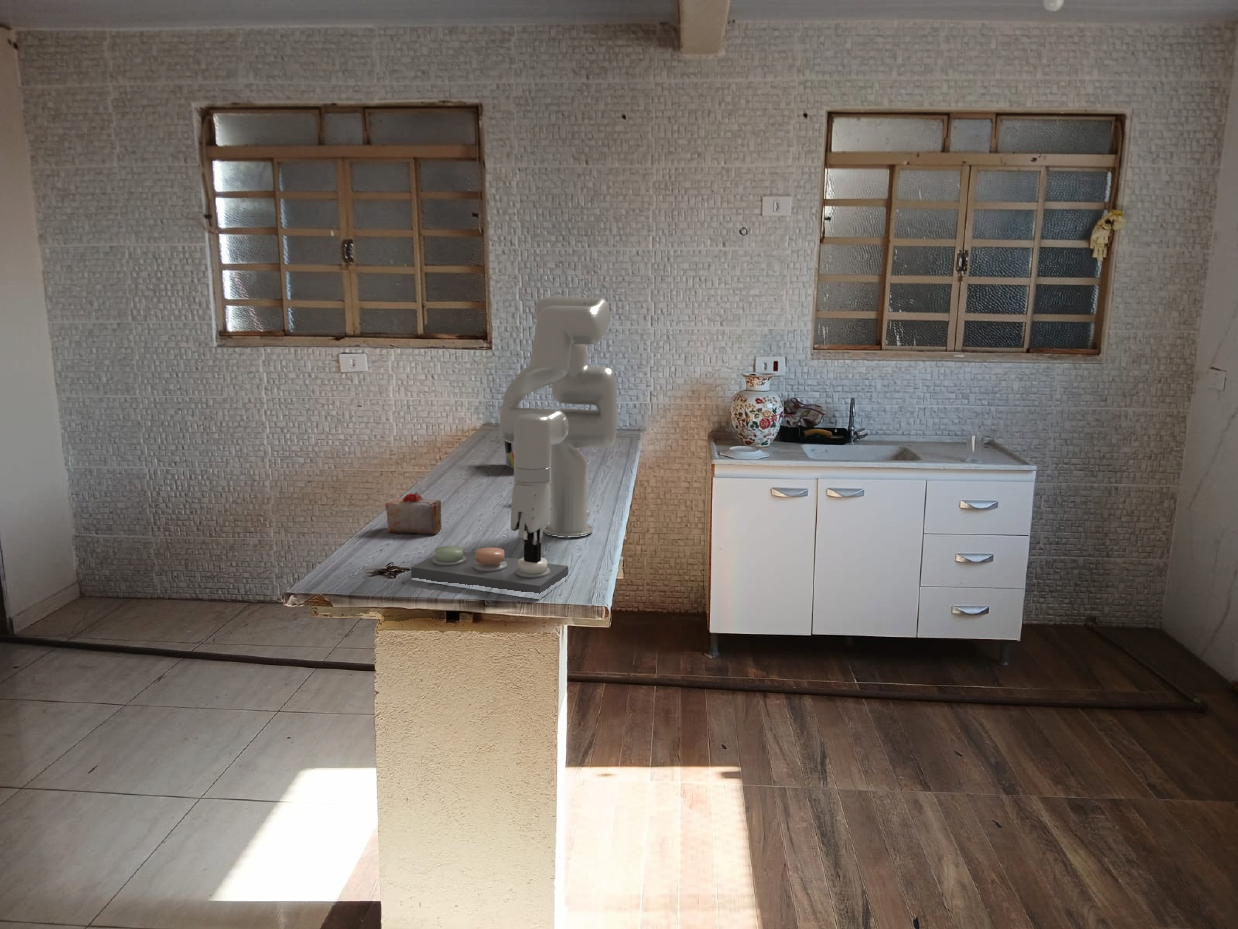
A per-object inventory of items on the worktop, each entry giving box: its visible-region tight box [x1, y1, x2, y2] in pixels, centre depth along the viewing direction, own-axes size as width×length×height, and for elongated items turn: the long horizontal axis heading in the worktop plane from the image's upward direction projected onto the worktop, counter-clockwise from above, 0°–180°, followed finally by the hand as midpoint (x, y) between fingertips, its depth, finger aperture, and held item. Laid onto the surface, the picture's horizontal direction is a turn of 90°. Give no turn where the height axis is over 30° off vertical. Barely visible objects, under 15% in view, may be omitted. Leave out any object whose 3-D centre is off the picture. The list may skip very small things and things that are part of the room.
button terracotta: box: [475, 547, 505, 564], centre depth 190 cm, size 6×6×2 cm
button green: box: [434, 545, 464, 562], centre depth 193 cm, size 6×6×2 cm
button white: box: [518, 556, 548, 574], centre depth 186 cm, size 6×6×2 cm
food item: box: [384, 491, 442, 535], centre depth 226 cm, size 14×8×10 cm, turn 82°
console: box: [410, 551, 569, 594], centre depth 190 cm, size 14×30×4 cm, turn 69°
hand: (532, 561), depth 186 cm, fingers closed
